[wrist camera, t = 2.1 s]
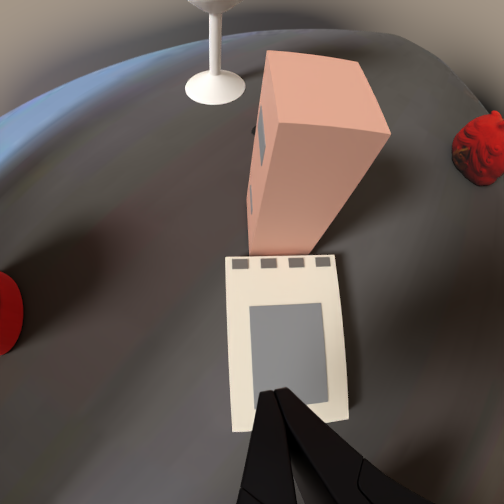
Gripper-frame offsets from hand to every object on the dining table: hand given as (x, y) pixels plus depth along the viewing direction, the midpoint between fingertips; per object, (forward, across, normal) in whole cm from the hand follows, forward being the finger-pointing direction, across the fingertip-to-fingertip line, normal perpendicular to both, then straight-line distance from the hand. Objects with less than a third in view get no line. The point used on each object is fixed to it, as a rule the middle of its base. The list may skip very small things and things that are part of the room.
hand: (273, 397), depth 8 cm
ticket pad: (+11, -3, +7) cm, 13 cm away
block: (+17, -4, +1) cm, 17 cm away
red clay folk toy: (+21, -30, -3) cm, 37 cm away
